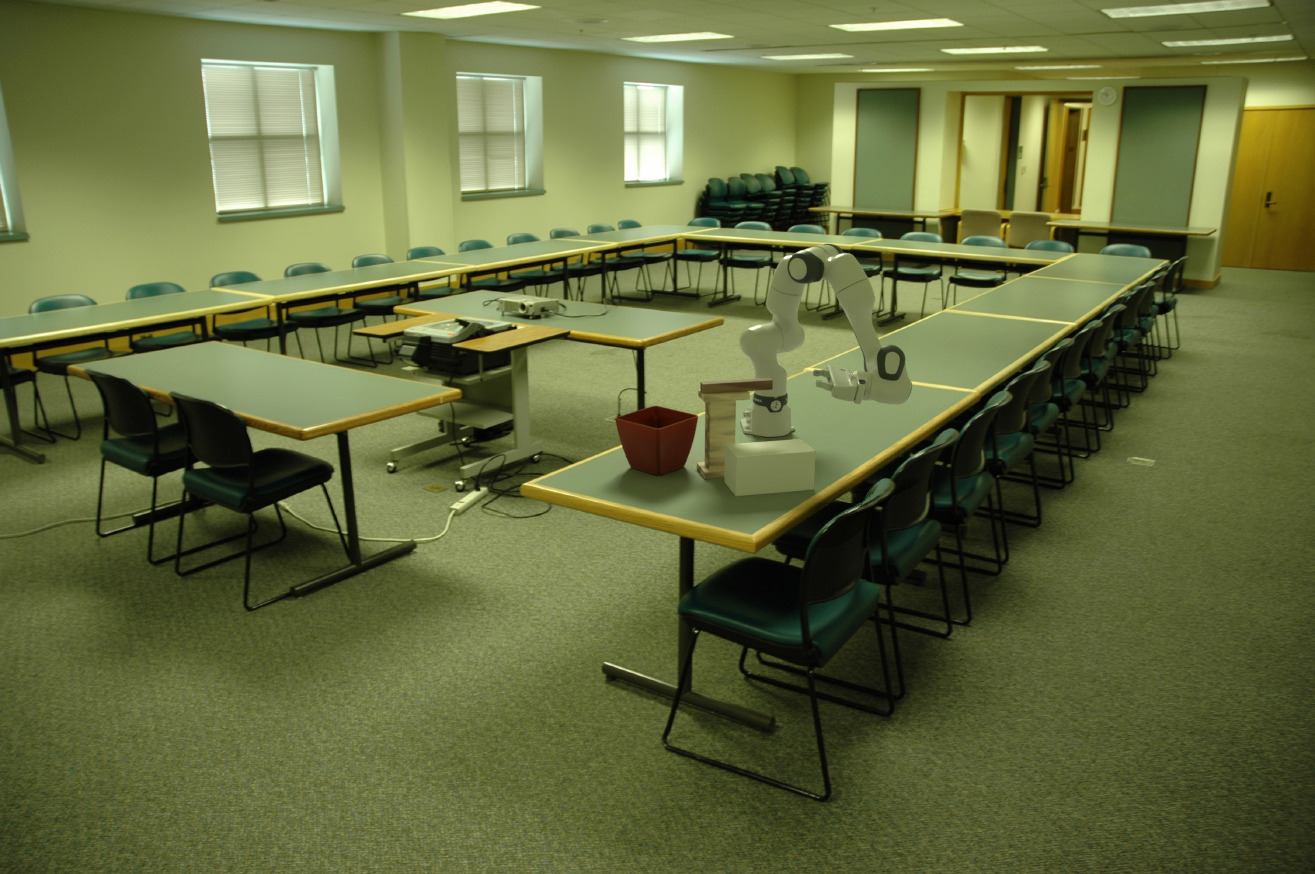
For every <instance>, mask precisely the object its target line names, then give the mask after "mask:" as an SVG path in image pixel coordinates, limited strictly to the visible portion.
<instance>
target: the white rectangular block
mask: <svg viewBox="0 0 1315 874" xmlns="http://www.w3.org/2000/svg"><path fill="white" fill-rule="evenodd" d="M816 454H817V453H816V450H815V449H814V448H813V447H811V446H810V445H809V444H807V442H806V441H804V439H802V438H796V439H784V440H783V439H782V440H771V441H770V440H769V441H756V442H755V441H754V442H753V441H752V442H742V443H735V444H726V445H725V477H724V482H723V483H725V484H726V486H727V487H728V489H729V490H730V491H731V493H733V495H734V496H735V497H741V496H742V497H744V496H745V497H746V496H755V495H766V494H767V495H768V494H777V493H778V494H779V493H791V492H799V491H813V490H815V473H816V472H815V470H816Z"/></svg>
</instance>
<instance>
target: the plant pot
mask: <svg viewBox="0 0 1315 874" xmlns="http://www.w3.org/2000/svg"><path fill="white" fill-rule="evenodd" d="M698 419H699V415H698V414H693V413H690V412H685V411H682V410H681V411H680V410H676V409H671V408H668V407H664V406H659V405H652V406H648V407H645V408H642V409H638V410H635V411H632V412H629V413H626V414H622V415H620V416H617V417H615V419H614V420H615V425H616V426H615V427H616V431H617V433H618V437H619V440H620V444H621V446H622V449H623V452H624V454H625V455H624V456H625V457H626V460H627V463H628V465H629V467H630V468H631V469H634V470H637V471H640V472H643V473H647V474H649V475H654V476H657V477H658V476H662V475H665V474H668V473H671V472H673V471H676V470H678V469H681V468H684V467H685V465H686V463H687V461H688V459H689V456H690V453H691V451H692V446H693V444H694V440H695V435H696V431H697V428H698V427H697V426H698V422H699V420H698Z"/></svg>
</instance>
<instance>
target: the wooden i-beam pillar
mask: <svg viewBox="0 0 1315 874" xmlns="http://www.w3.org/2000/svg"><path fill="white" fill-rule="evenodd" d="M697 395H698V397H699V398H700V399H701V400H702V401H703V402H704V404H705V405H704V406H705V407H704V408H705V409H704V461H699V462H698V461H697V462H696V469H697V471H698V472H699V473H700V475H701V476H702V477H703V479H704V480H708V479H709V480H710V479H720V478H721V479H723V478H724V477H725V445H726V444H736V427H737V426H736V424H737V423H736V422H737V421H736V420H737V418H736V417H737V416H736V414H737V413H736V412H737V401H748V400H749V401H750V400H751V393H750V391H743V392H727V393H711V394H702V393H701V392H700V388H699V389H697Z"/></svg>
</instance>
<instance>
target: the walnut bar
mask: <svg viewBox="0 0 1315 874" xmlns="http://www.w3.org/2000/svg"><path fill="white" fill-rule="evenodd" d="M699 389H700V392H701V393H702V394H711V393H727V392H743V391H748V392H754V391H759V390H772V389H773V380H772V379H771V378H758V379H755V378H743V379H727V380H726V379H725V380H711V381H710V380H709V381H708V380H707V381H700V388H699Z"/></svg>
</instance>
